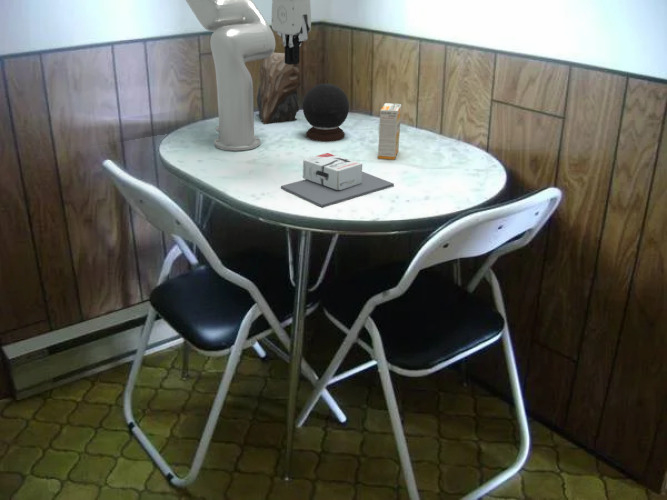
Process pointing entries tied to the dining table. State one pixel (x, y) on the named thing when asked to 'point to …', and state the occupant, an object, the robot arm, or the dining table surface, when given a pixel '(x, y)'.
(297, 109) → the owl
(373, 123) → the dining table surface
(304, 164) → the ink box
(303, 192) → the mat
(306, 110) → the ball on wooden base
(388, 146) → the supplement box
